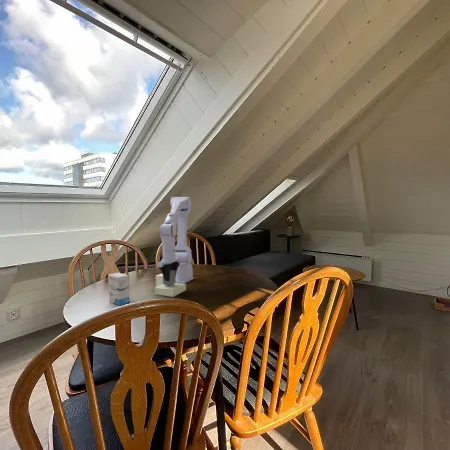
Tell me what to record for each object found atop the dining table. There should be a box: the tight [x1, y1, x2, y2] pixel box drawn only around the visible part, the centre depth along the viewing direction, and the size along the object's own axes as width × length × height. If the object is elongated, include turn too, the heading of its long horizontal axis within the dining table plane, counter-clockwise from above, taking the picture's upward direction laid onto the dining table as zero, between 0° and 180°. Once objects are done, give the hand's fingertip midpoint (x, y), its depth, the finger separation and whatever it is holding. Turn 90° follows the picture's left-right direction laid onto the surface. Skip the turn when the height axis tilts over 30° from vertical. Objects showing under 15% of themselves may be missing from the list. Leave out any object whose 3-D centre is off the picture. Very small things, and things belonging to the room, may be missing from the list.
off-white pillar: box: [155, 273, 163, 287], centre depth 138 cm, size 4×4×6 cm
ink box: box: [107, 272, 131, 307], centre depth 118 cm, size 8×5×12 cm, turn 48°
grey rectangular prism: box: [163, 270, 177, 286], centre depth 130 cm, size 4×4×6 cm
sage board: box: [154, 282, 187, 297], centre depth 130 cm, size 10×10×3 cm
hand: (170, 279), depth 130 cm, fingers closed on grey rectangular prism, 4 cm apart
